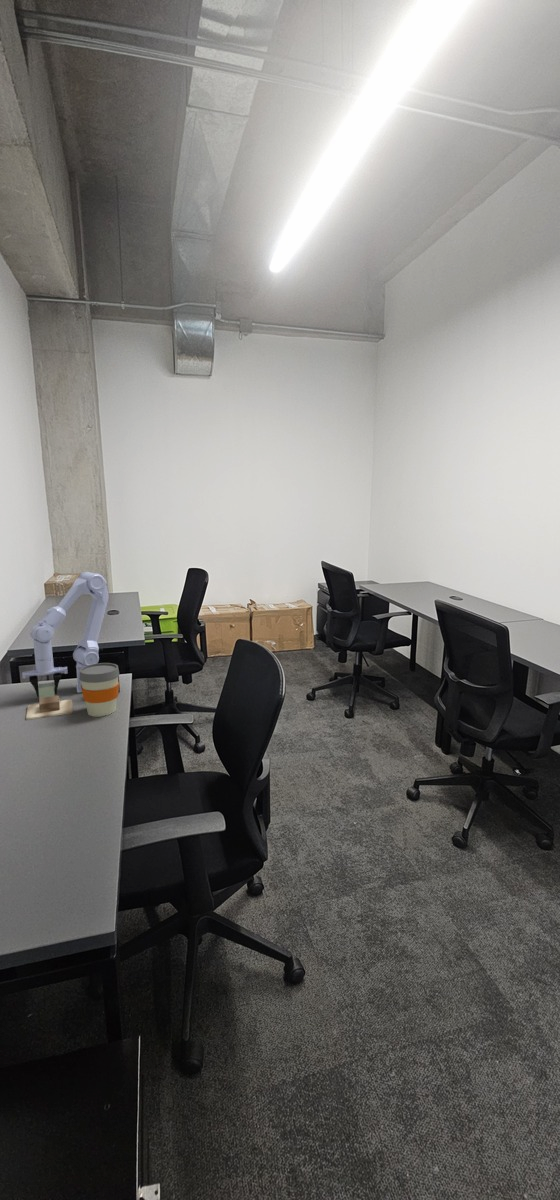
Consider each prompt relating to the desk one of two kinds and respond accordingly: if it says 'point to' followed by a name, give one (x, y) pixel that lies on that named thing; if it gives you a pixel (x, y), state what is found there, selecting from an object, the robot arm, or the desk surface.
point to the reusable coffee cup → (100, 688)
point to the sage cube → (46, 690)
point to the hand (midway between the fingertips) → (47, 694)
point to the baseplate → (37, 714)
